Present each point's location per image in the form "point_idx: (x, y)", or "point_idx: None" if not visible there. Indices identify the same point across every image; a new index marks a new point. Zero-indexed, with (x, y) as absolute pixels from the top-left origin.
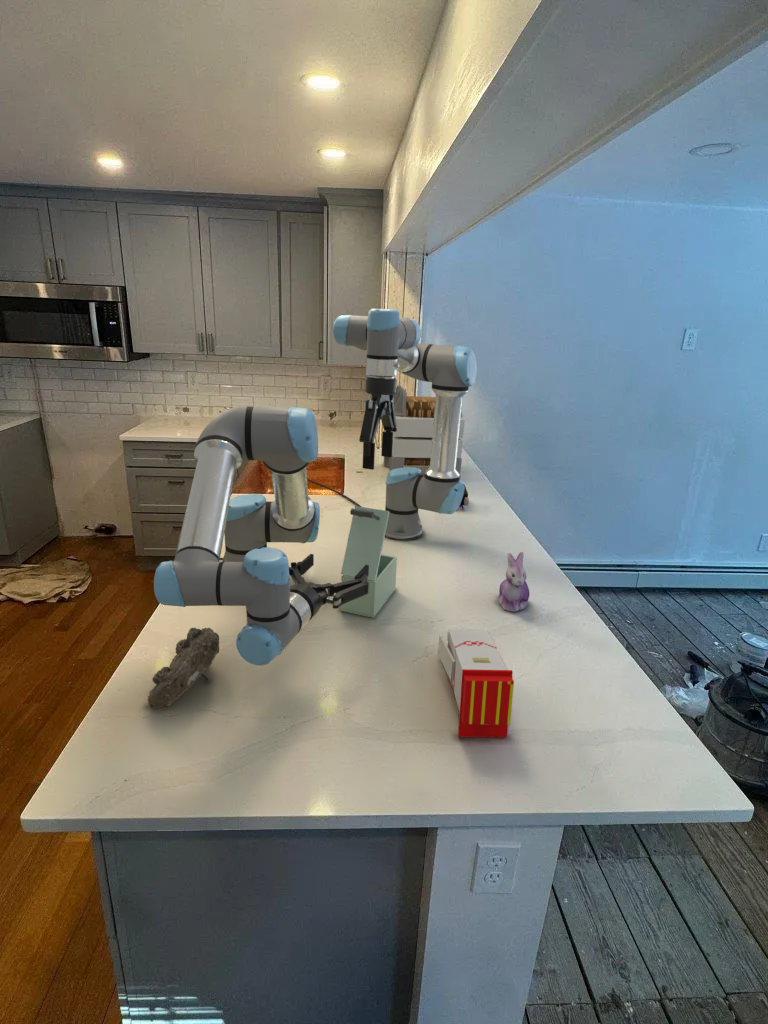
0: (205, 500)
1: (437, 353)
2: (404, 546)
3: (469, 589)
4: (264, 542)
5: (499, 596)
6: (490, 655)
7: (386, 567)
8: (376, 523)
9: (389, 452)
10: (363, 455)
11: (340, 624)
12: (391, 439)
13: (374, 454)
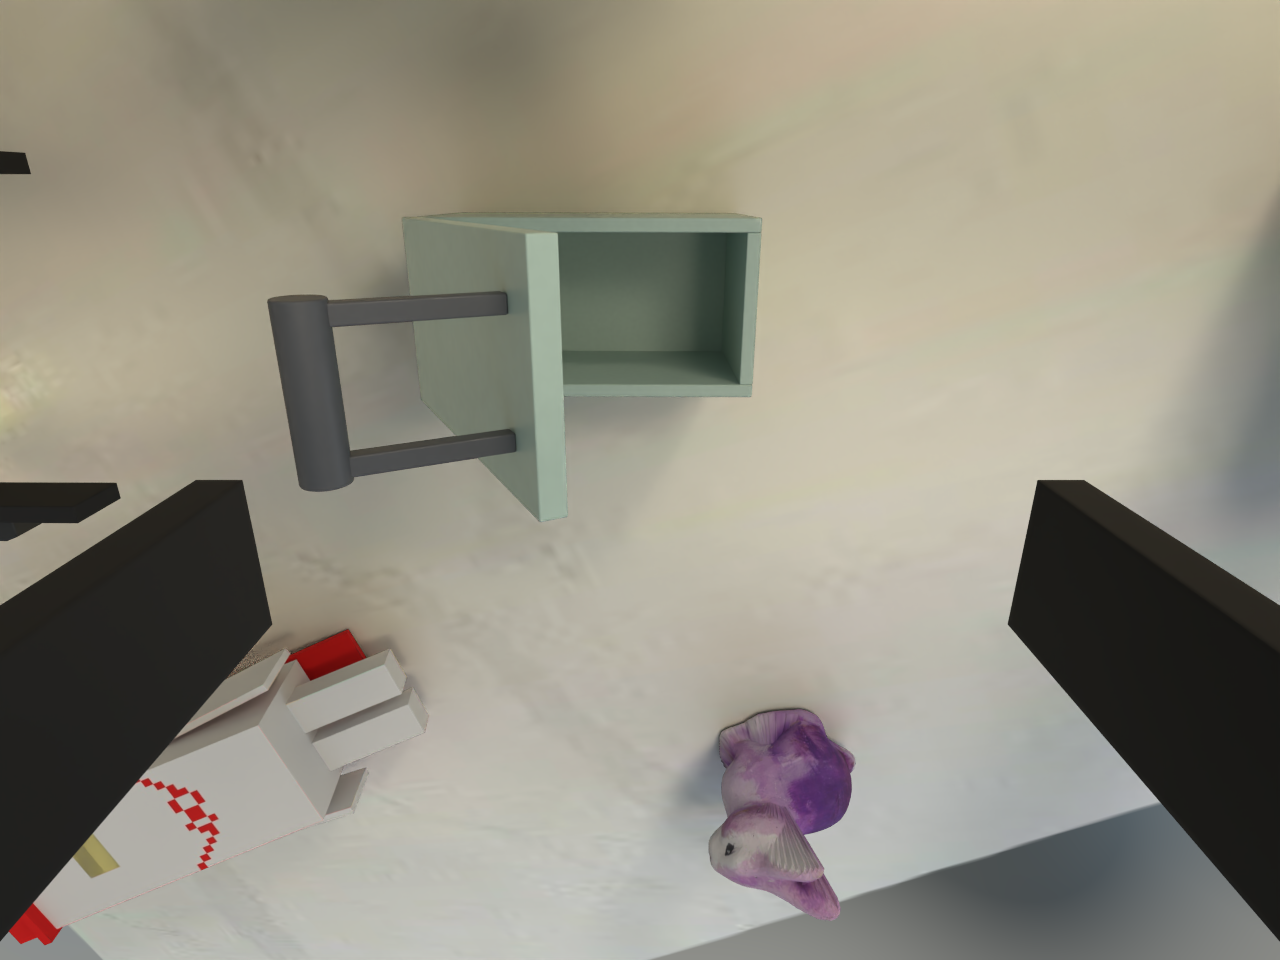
0: None
1: None
2: (1213, 252)
3: (833, 612)
4: None
5: (784, 719)
6: (140, 867)
7: (611, 389)
8: (502, 423)
9: (1051, 638)
10: (50, 585)
11: (368, 256)
12: (1205, 839)
13: (136, 776)
